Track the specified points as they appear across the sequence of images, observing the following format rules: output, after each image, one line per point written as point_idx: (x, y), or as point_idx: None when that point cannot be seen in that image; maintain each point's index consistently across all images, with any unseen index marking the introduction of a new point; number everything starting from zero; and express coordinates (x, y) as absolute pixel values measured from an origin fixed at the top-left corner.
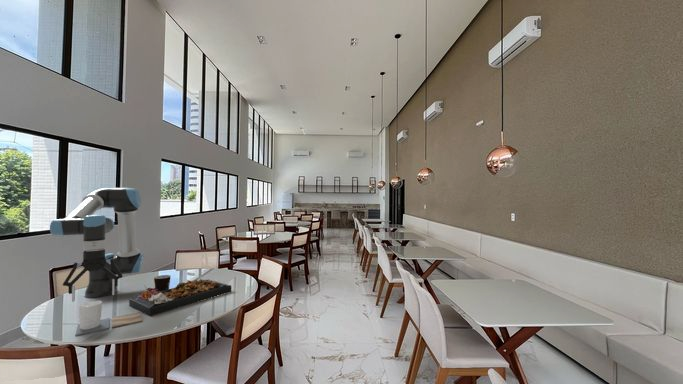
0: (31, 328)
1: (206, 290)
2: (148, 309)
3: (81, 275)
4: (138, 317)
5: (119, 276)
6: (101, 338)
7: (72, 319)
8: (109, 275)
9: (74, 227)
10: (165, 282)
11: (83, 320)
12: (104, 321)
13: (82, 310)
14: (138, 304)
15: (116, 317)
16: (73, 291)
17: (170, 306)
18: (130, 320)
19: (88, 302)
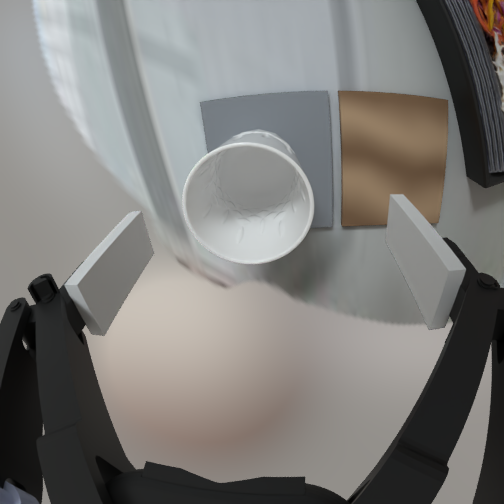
0: (54, 61)
1: None
2: (480, 171)
3: (109, 430)
4: (435, 177)
5: (495, 344)
6: (308, 296)
7: (159, 3)
8: (424, 387)
9: None
10: None
11: (232, 214)
12: (310, 129)
13: (218, 242)
14: (455, 53)
15: (358, 104)
16: (119, 303)
17: None
18: (407, 194)
19: (224, 149)
